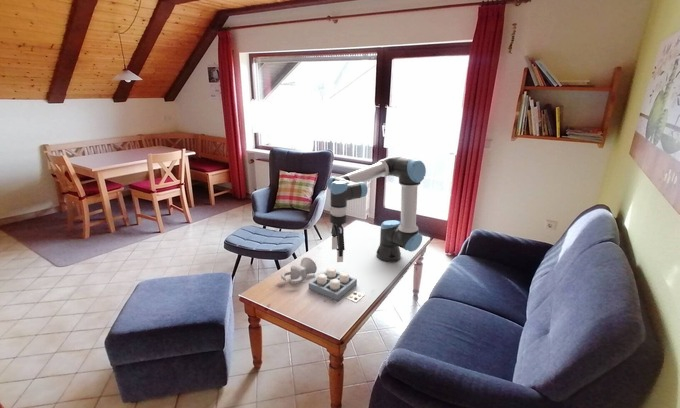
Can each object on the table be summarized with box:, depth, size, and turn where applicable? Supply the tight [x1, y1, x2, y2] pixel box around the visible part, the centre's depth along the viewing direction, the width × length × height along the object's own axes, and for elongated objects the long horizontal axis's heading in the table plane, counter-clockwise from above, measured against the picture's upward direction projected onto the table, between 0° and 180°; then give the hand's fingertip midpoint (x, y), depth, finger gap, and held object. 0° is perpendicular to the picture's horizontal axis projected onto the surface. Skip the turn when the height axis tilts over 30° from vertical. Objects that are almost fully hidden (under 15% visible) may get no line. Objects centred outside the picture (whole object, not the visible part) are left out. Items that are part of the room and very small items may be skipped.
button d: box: [326, 267, 337, 279], centre depth 182 cm, size 5×5×4 cm
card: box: [345, 290, 365, 304], centre depth 171 cm, size 8×6×1 cm
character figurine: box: [280, 256, 318, 284], centre depth 185 cm, size 13×9×20 cm
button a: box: [330, 279, 340, 292], centre depth 171 cm, size 5×5×4 cm
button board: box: [308, 271, 358, 303], centre depth 178 cm, size 18×18×4 cm
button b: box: [316, 273, 327, 286], centre depth 176 cm, size 5×5×4 cm
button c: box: [339, 271, 350, 284], centre depth 178 cm, size 5×5×4 cm
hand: (337, 255), depth 165 cm, fingers open, 13 cm apart
